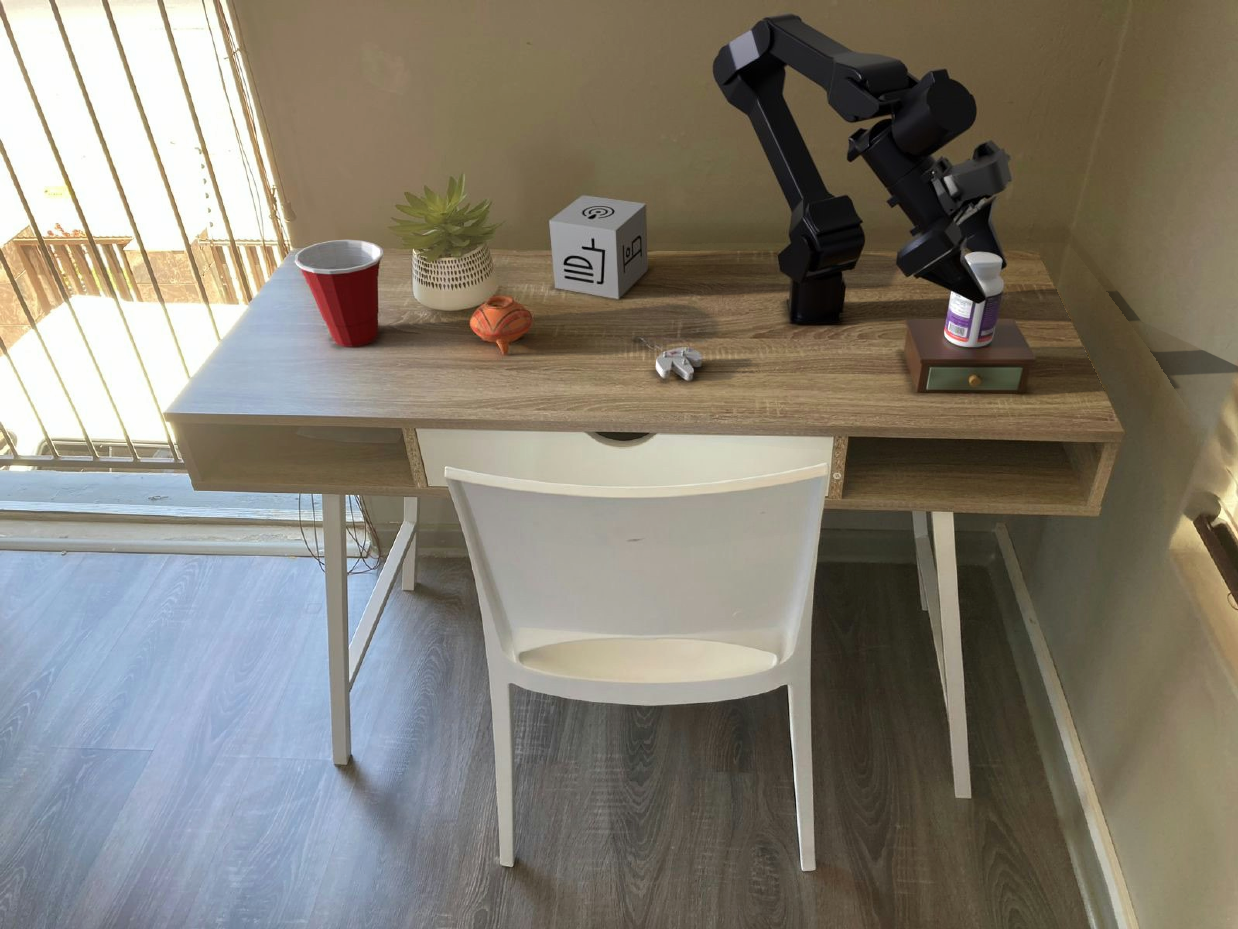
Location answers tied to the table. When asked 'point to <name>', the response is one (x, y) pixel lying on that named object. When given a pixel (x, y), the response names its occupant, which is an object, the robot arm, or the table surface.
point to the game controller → (678, 362)
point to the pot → (501, 321)
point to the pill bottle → (975, 320)
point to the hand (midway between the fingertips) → (993, 284)
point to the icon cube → (599, 246)
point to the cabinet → (967, 360)
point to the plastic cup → (344, 287)
